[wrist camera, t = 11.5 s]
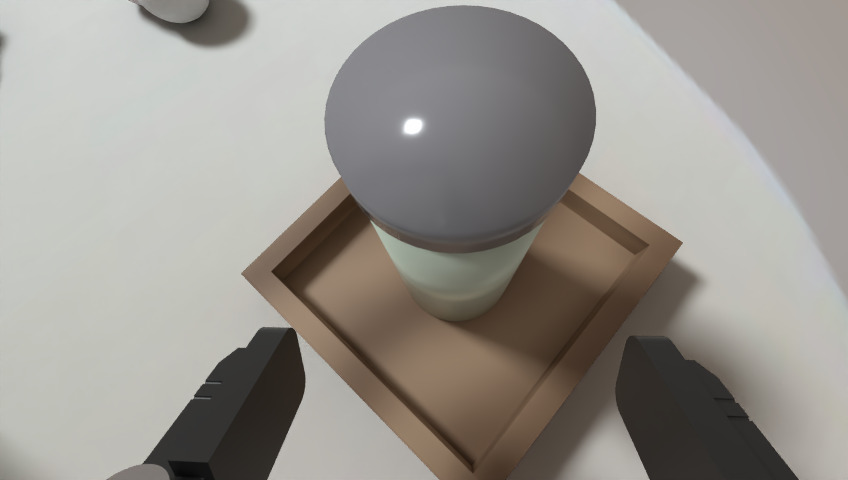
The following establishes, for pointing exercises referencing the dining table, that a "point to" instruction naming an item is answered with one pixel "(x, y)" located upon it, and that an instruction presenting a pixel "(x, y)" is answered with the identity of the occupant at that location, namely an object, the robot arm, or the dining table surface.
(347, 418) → the dining table surface
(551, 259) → the tray
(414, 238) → the shaker
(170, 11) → the ice cream cone
